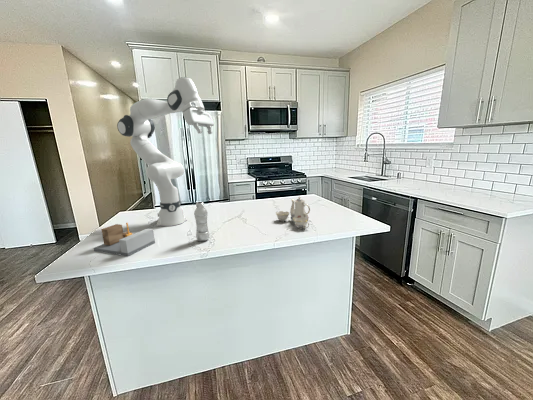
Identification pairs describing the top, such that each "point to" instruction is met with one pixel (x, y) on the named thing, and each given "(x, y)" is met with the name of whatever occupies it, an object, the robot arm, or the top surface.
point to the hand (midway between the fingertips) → (205, 133)
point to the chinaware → (296, 214)
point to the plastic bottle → (201, 222)
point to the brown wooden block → (113, 234)
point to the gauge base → (117, 249)
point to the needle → (128, 231)
